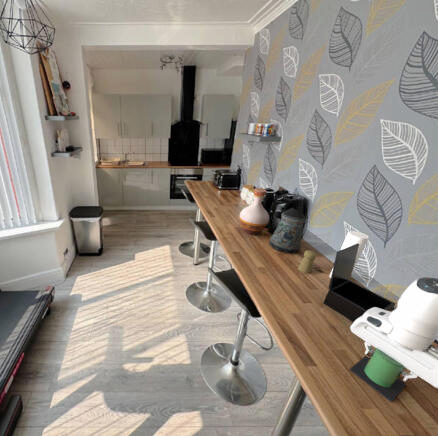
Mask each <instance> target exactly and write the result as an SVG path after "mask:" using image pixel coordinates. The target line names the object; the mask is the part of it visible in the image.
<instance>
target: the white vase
mask: <svg viewBox="0 0 438 436" xmlns="http://www.w3.org/2000/svg"><path fill="white" fill-rule="evenodd" d="M266 194H267V189H265V188H262V187H256V188H254V193H253V196H254V197H253V198H254V200H253V203H250V204H249V205H248V206H246V207H244V208H243V209H242V210H241V211H240V213H239V224H240V227H241V228H242V230H243V231H244V233H246V234H248V235H252V236H253V235H257V234H259V233H261V232H262V231H263V230H264V229H265V228H266V227H267V225H268V224H269V221H270V215H269V212H268V211H267V210H266V209H265V208H264V206H263V205H262V202H263V200H264V198H265V197H266Z"/></svg>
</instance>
